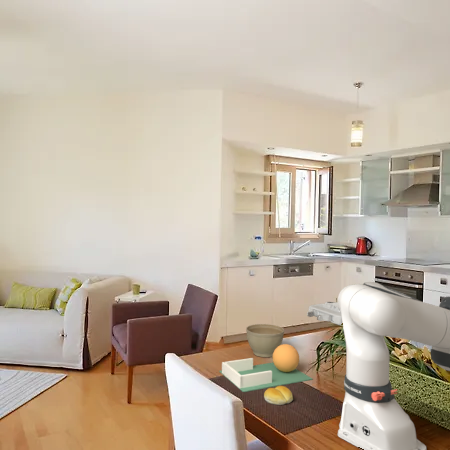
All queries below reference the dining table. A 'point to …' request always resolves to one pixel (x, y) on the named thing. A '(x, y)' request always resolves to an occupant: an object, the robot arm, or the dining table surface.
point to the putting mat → (273, 376)
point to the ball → (285, 358)
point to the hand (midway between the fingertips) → (312, 316)
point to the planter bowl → (264, 338)
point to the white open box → (248, 380)
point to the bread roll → (278, 395)
